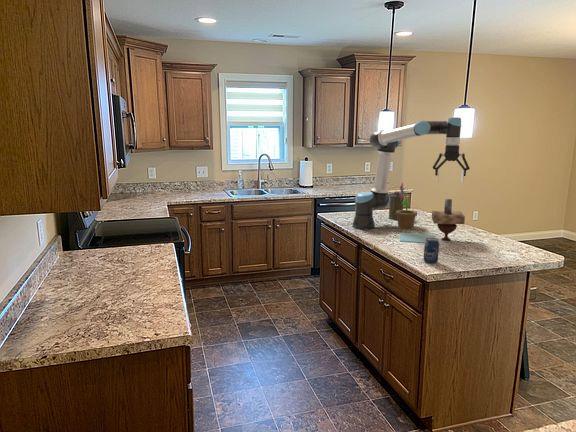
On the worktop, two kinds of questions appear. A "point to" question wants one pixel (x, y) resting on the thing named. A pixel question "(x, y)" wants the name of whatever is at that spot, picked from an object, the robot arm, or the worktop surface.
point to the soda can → (431, 250)
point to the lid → (448, 215)
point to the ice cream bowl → (446, 230)
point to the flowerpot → (405, 213)
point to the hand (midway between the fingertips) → (449, 181)
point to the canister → (395, 205)
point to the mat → (414, 237)
